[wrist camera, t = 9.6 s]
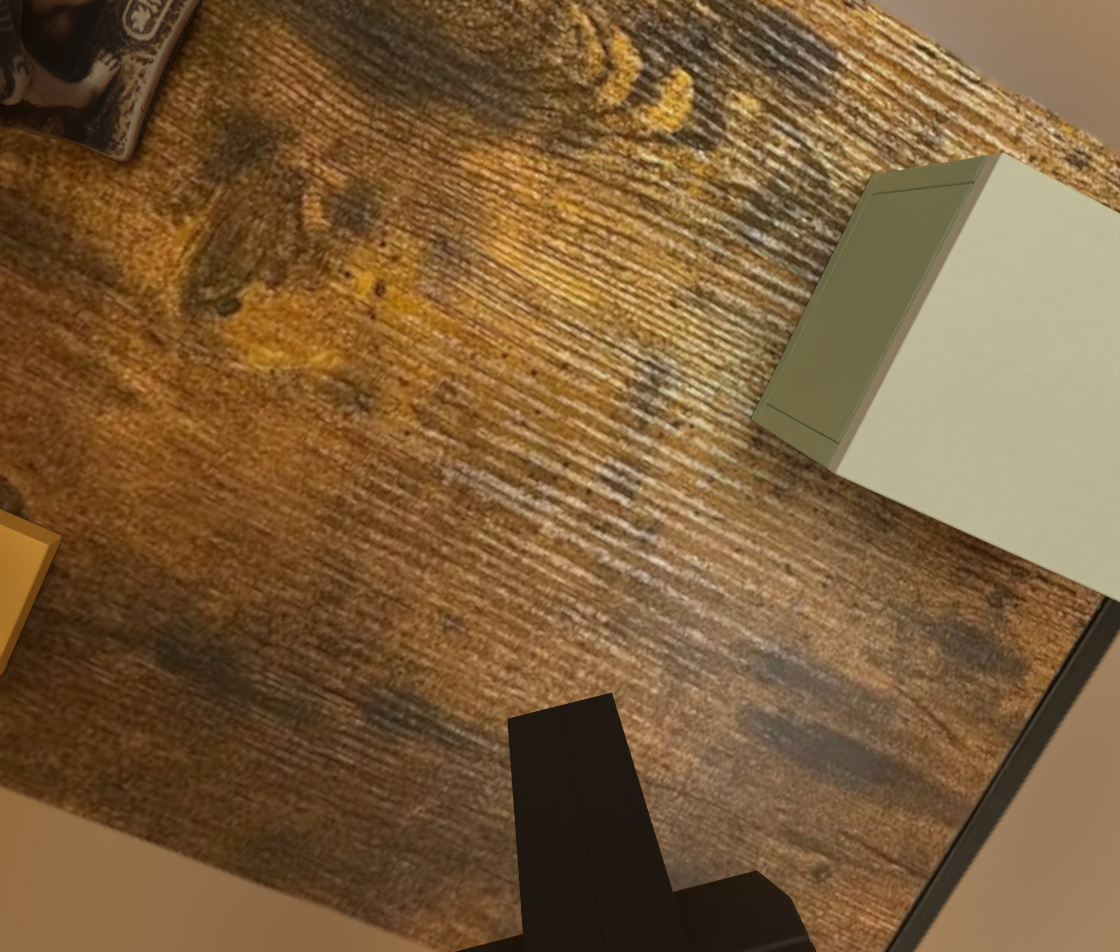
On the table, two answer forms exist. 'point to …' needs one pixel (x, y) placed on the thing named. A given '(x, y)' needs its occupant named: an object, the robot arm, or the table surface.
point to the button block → (20, 574)
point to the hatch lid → (1008, 381)
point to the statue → (88, 67)
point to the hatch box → (861, 303)
